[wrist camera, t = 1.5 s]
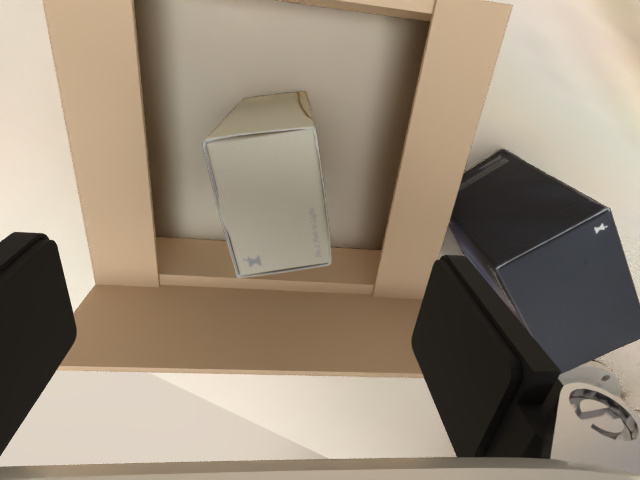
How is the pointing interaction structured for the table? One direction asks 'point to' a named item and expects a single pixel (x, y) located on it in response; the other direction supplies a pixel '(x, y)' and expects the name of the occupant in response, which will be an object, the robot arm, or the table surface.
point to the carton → (213, 255)
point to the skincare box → (270, 185)
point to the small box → (548, 258)
